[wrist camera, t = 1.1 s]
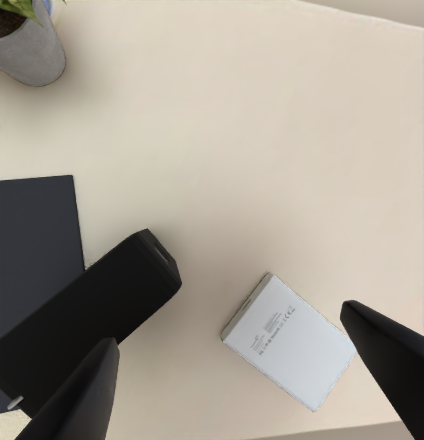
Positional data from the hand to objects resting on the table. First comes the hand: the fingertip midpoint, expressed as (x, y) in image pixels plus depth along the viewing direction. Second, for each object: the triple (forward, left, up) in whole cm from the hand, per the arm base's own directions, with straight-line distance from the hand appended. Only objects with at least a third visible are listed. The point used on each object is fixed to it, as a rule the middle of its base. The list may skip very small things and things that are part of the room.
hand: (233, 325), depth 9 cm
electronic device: (0, +8, -14) cm, 16 cm away
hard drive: (-9, -8, -14) cm, 19 cm away
